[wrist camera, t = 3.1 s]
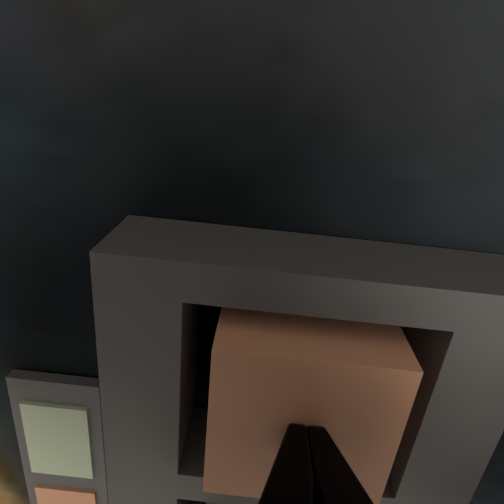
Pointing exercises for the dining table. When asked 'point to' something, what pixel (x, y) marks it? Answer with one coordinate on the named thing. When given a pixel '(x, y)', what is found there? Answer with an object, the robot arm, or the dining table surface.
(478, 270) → the keypad frame
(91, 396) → the strip
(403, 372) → the key terracotta
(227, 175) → the dining table surface
